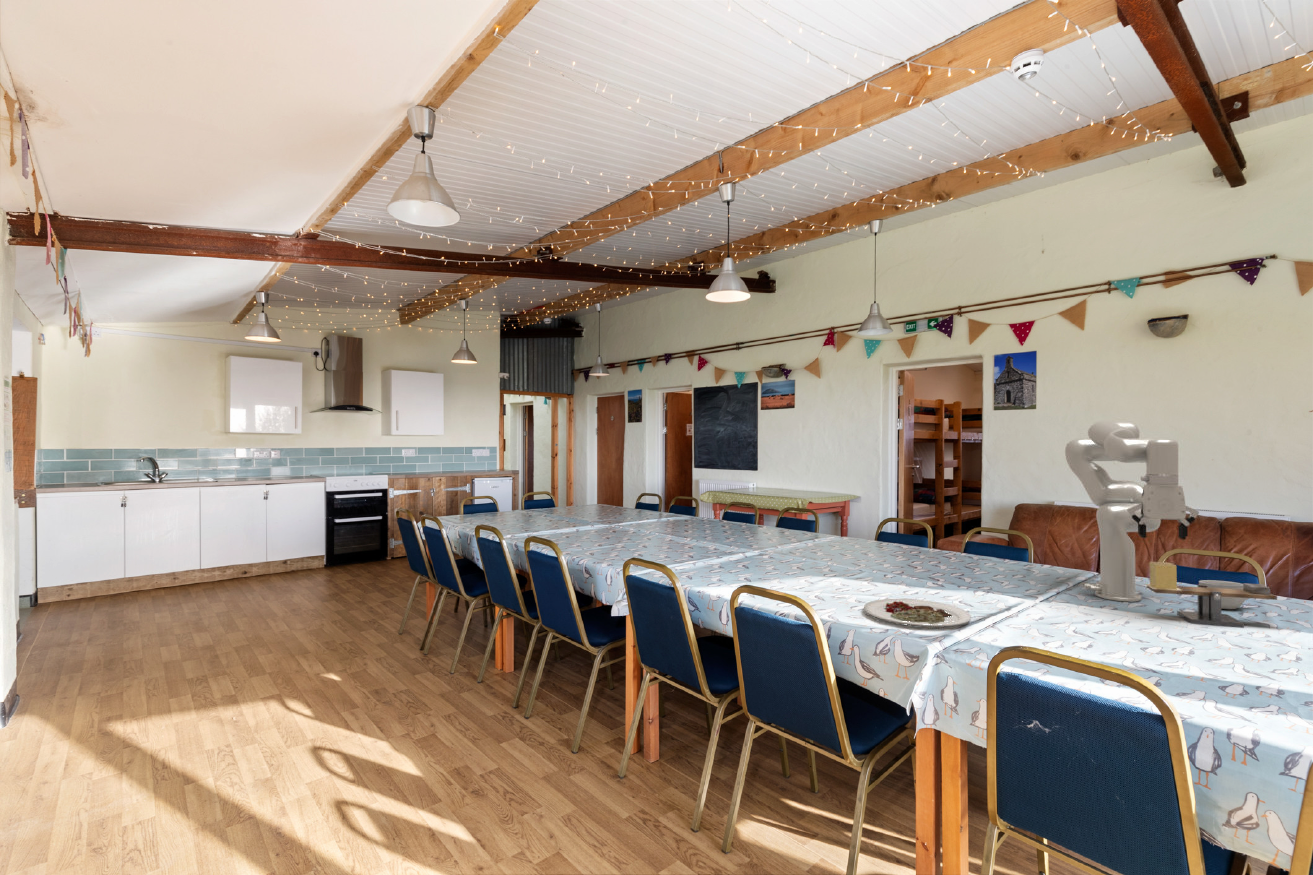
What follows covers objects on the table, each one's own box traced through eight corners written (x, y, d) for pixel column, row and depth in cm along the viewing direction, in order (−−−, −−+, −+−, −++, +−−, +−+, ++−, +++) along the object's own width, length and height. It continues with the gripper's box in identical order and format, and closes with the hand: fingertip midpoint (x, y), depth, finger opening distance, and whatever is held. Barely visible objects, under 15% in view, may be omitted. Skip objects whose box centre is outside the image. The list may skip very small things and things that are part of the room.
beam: (1153, 592, 190) (1153, 582, 190) (1145, 587, 196) (1144, 577, 196) (1276, 599, 180) (1276, 588, 180) (1263, 594, 186) (1263, 583, 186)
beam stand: (1192, 623, 185) (1191, 590, 185) (1176, 614, 195) (1176, 582, 195) (1244, 627, 181) (1244, 594, 181) (1225, 617, 191) (1225, 585, 191)
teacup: (1204, 609, 201) (1204, 583, 201) (1194, 601, 210) (1194, 577, 210) (1263, 614, 194) (1263, 588, 194) (1250, 606, 204) (1250, 581, 204)
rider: (1156, 588, 190) (1155, 564, 190) (1150, 584, 195) (1149, 561, 195) (1176, 589, 188) (1176, 565, 188) (1170, 585, 193) (1169, 562, 193)
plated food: (958, 638, 173) (958, 625, 173) (849, 619, 191) (849, 608, 191) (980, 614, 197) (980, 603, 197) (881, 599, 215) (881, 589, 215)
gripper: (1131, 481, 192) (1132, 538, 192) (1203, 482, 185) (1203, 541, 186) (1123, 479, 199) (1123, 534, 199) (1192, 480, 192) (1192, 537, 193)
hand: (1162, 538), depth 192 cm, fingers open, 9 cm apart
